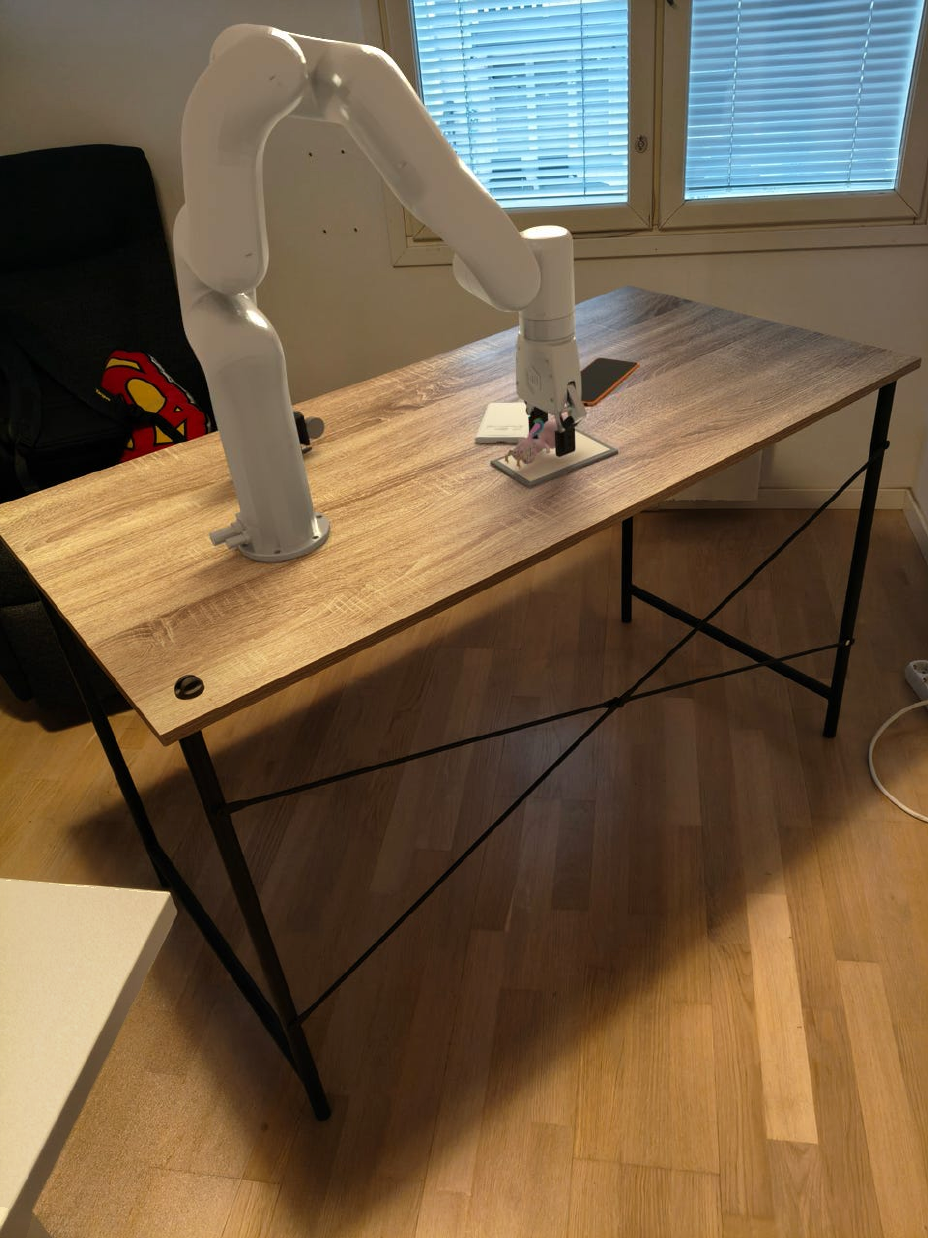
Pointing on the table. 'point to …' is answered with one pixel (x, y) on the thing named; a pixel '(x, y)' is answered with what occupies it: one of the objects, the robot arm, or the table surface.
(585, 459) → the mat
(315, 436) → the figurine character
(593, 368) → the smartphone
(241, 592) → the table surface
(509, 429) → the external hard drive
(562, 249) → the robot arm
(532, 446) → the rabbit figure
